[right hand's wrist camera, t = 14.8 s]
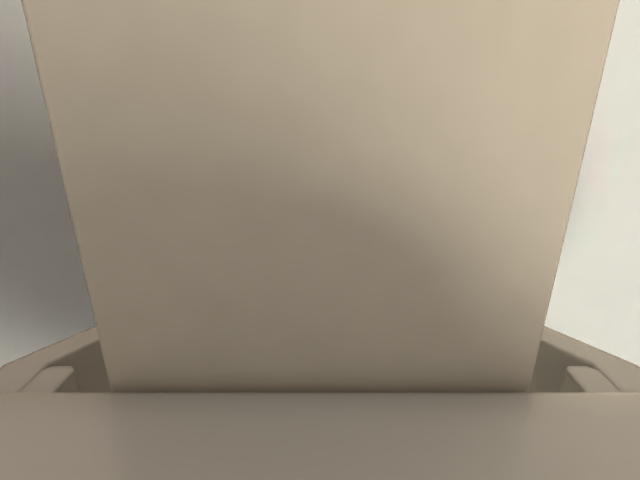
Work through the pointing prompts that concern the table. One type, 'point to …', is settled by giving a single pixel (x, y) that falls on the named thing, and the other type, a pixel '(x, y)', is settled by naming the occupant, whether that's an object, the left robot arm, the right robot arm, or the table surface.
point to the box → (320, 184)
